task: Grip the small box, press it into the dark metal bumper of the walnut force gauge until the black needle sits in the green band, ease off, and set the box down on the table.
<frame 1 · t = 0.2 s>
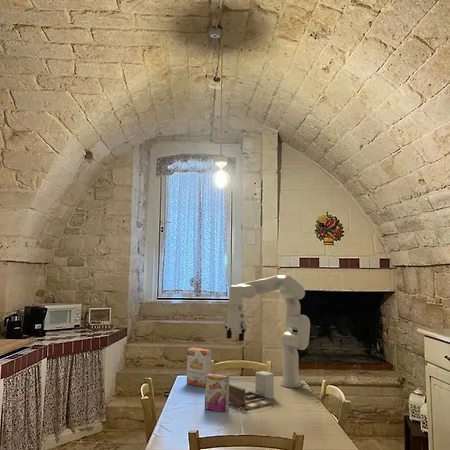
hand: (235, 339, 238), 31 cm above the table, tool pointing down, fingers open, 9 cm apart
small box: (264, 397, 235), on the table
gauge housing: (246, 401, 227), on the table
candy bar box: (216, 410, 213), on the table
gauge carriage: (255, 397, 228), point 2 cm above the table, slide at 0.0 cm
cracker box: (198, 385, 258), on the table
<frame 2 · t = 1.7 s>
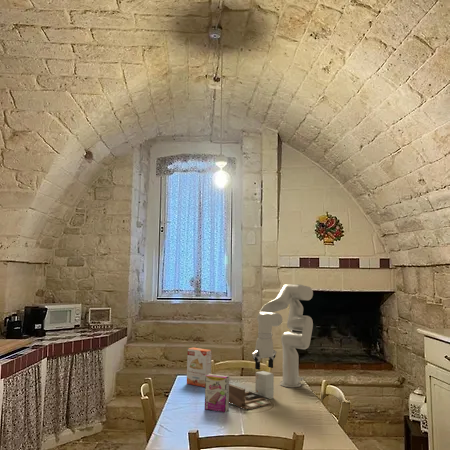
hand: (264, 368, 236), 15 cm above the table, tool pointing down, fingers open, 9 cm apart
nothing on the table moved.
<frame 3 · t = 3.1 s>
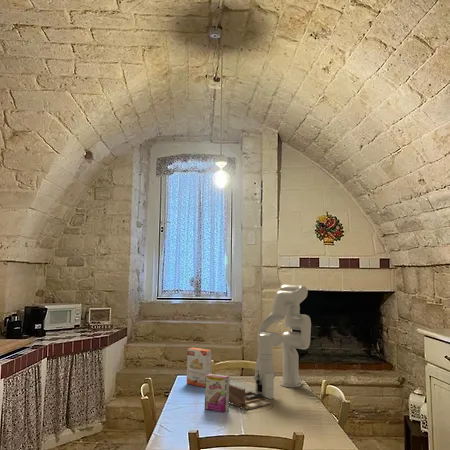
hand: (264, 390, 236), 4 cm above the table, tool pointing down, fingers closed on small box, 6 cm apart
small box: (264, 397, 235), on the table, touching gripper
everything else where it was.
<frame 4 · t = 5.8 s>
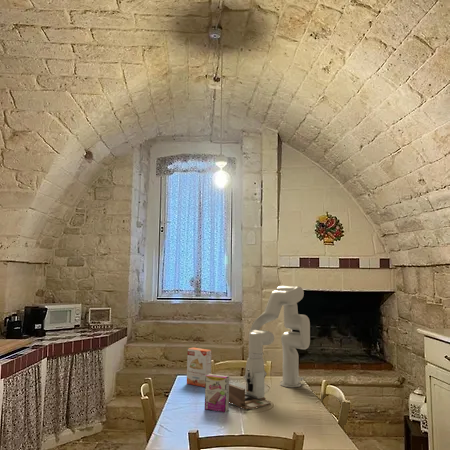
hand: (255, 389, 232), 5 cm above the table, tool pointing down, fingers closed on small box, 6 cm apart
small box: (255, 397, 231), point 1 cm above the table, touching gauge carriage, gripper
gauge carriage: (248, 398, 225), point 2 cm above the table, slide at 4.9 cm, touching small box
everything else where it was.
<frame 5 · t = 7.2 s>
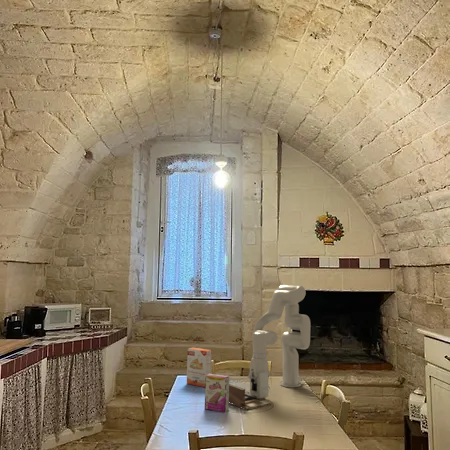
hand: (259, 389, 234), 5 cm above the table, tool pointing down, fingers closed on small box, 6 cm apart
small box: (259, 396, 233), point 1 cm above the table, touching gripper
gauge carriage: (248, 398, 225), point 2 cm above the table, slide at 5.0 cm
everything else where it was.
when the fingers open (5 cm above the table, at t = 8.3 s): small box drops 1 cm, on the table.
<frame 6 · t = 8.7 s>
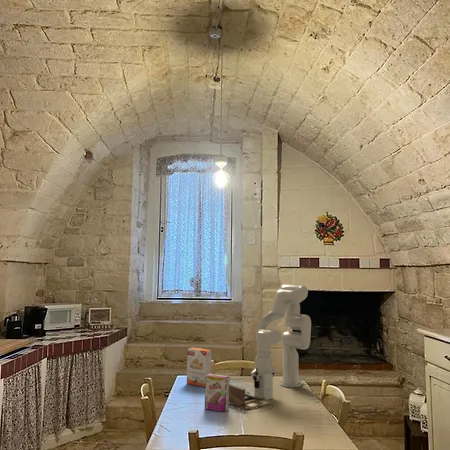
hand: (263, 386, 235), 6 cm above the table, tool pointing down, fingers open, 9 cm apart
small box: (263, 398, 235), on the table
everything else where it was.
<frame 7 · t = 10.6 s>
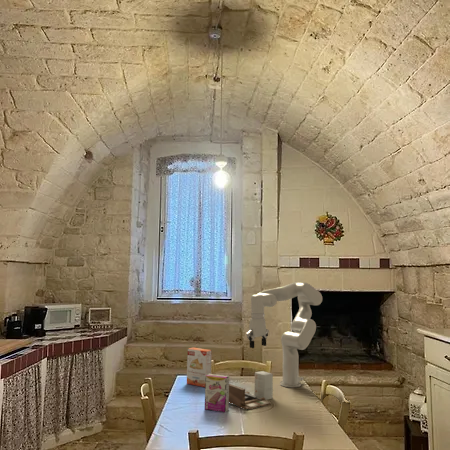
hand: (258, 346, 248), 25 cm above the table, tool pointing down, fingers open, 9 cm apart
nothing on the table moved.
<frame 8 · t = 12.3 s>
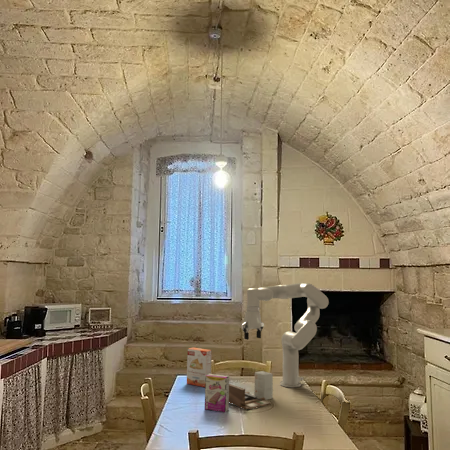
hand: (252, 338, 257), 28 cm above the table, tool pointing down, fingers open, 9 cm apart
nothing on the table moved.
at the end: gauge carriage slide at 5.0 cm; small box tilted 0°; the gripper is holding nothing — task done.
